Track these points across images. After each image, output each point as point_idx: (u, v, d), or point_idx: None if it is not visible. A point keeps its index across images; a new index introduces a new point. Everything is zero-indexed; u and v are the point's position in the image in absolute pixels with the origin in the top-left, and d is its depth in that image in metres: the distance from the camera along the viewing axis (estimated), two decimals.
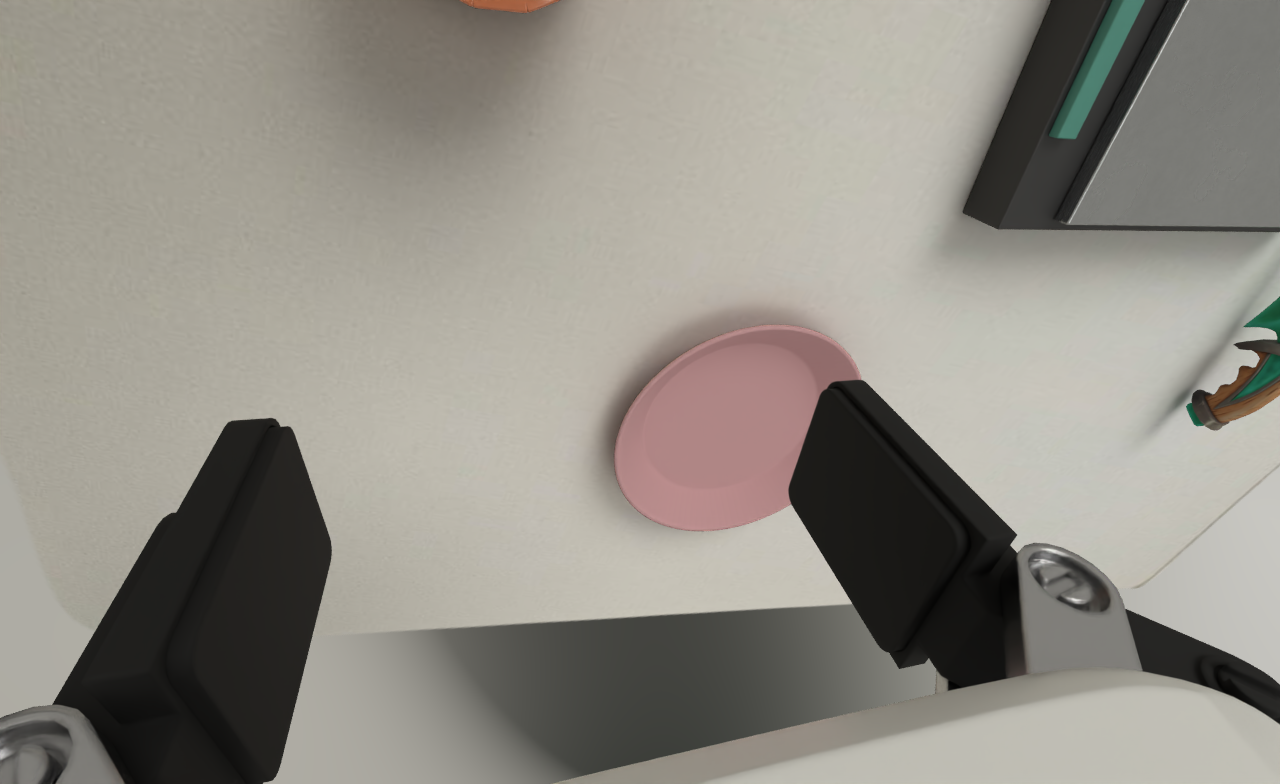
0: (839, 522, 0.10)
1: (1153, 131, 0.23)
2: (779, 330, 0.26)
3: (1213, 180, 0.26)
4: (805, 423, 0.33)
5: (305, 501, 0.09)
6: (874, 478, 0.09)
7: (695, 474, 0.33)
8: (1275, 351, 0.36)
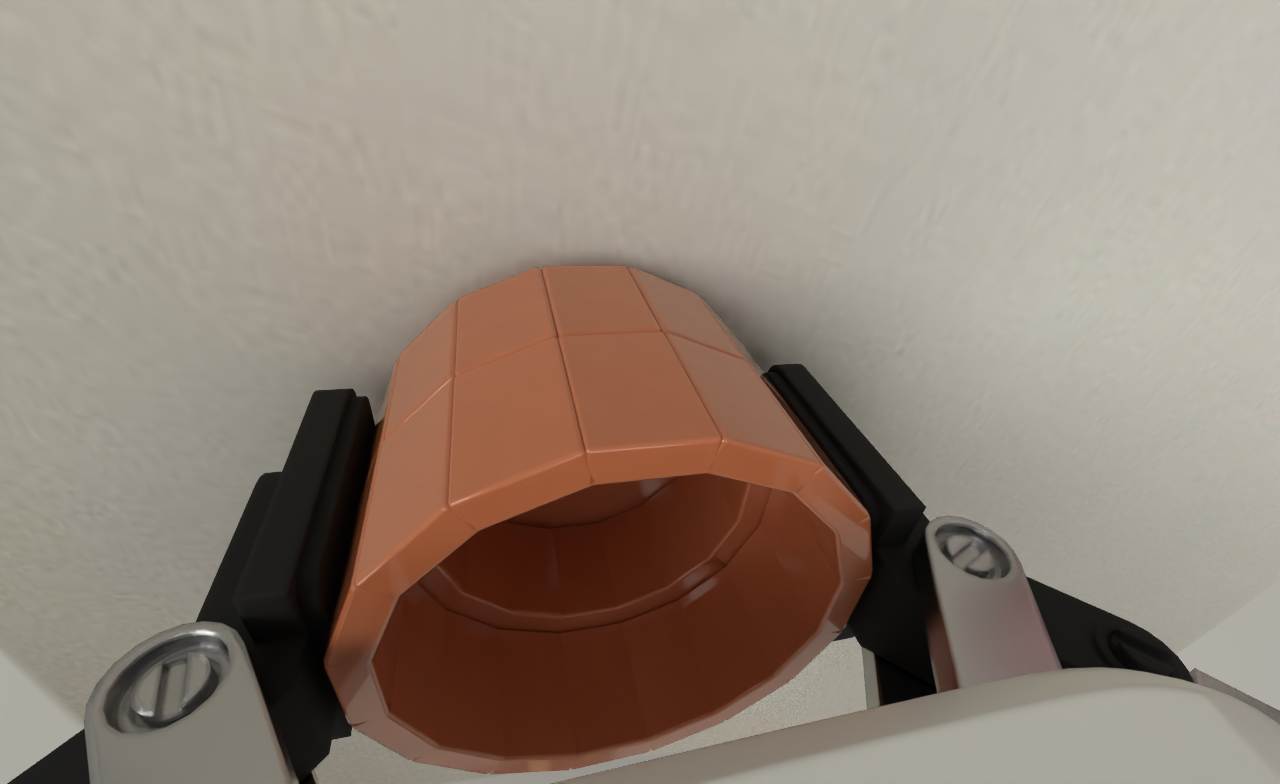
0: None
1: None
2: None
3: None
4: None
5: None
6: None
7: None
8: None
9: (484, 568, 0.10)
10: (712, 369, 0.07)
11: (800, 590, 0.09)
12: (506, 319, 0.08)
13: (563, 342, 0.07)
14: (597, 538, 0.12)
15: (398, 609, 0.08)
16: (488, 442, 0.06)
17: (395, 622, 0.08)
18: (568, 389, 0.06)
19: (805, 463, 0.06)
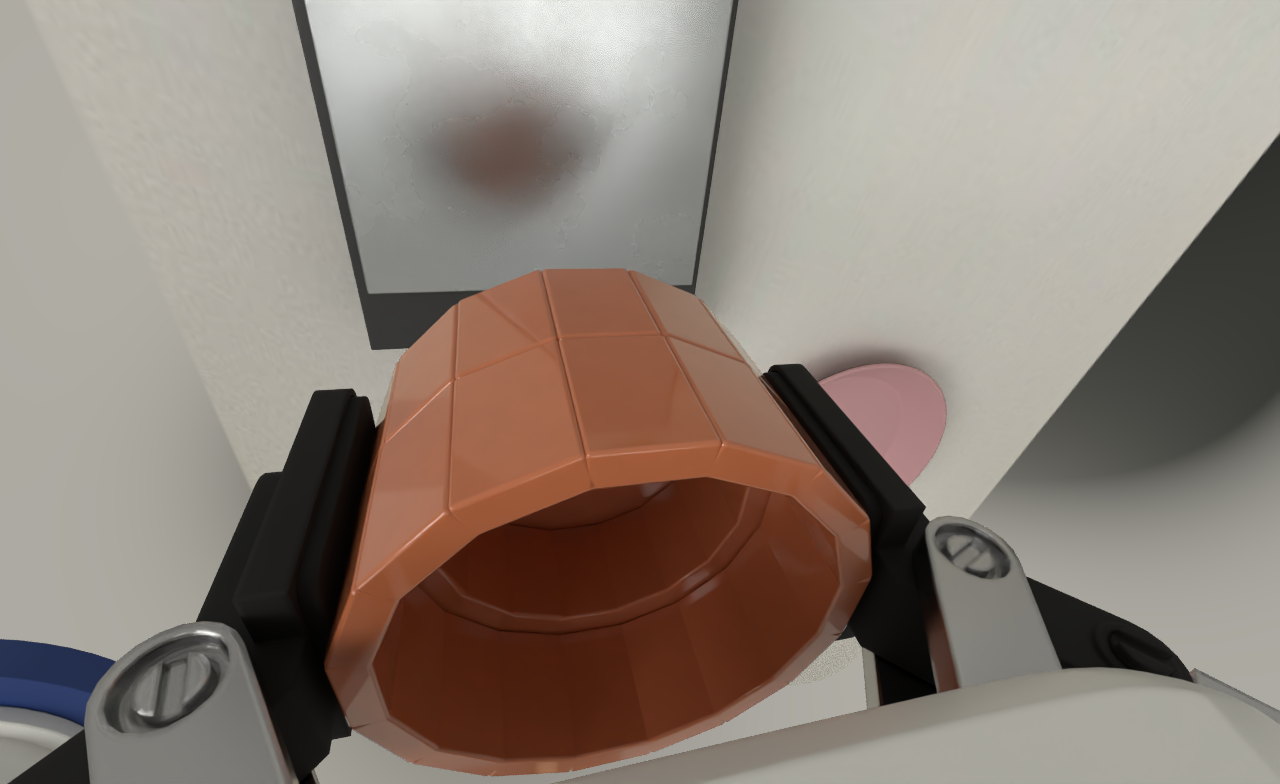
0: None
1: (602, 243, 0.22)
2: None
3: (661, 95, 0.19)
4: (859, 380, 0.34)
5: None
6: None
7: None
8: None
9: (484, 570, 0.10)
10: (712, 373, 0.07)
11: (800, 592, 0.09)
12: (505, 322, 0.08)
13: (563, 346, 0.07)
14: (598, 540, 0.12)
15: (398, 612, 0.08)
16: (488, 445, 0.06)
17: (395, 625, 0.08)
18: (568, 393, 0.06)
19: (805, 467, 0.06)
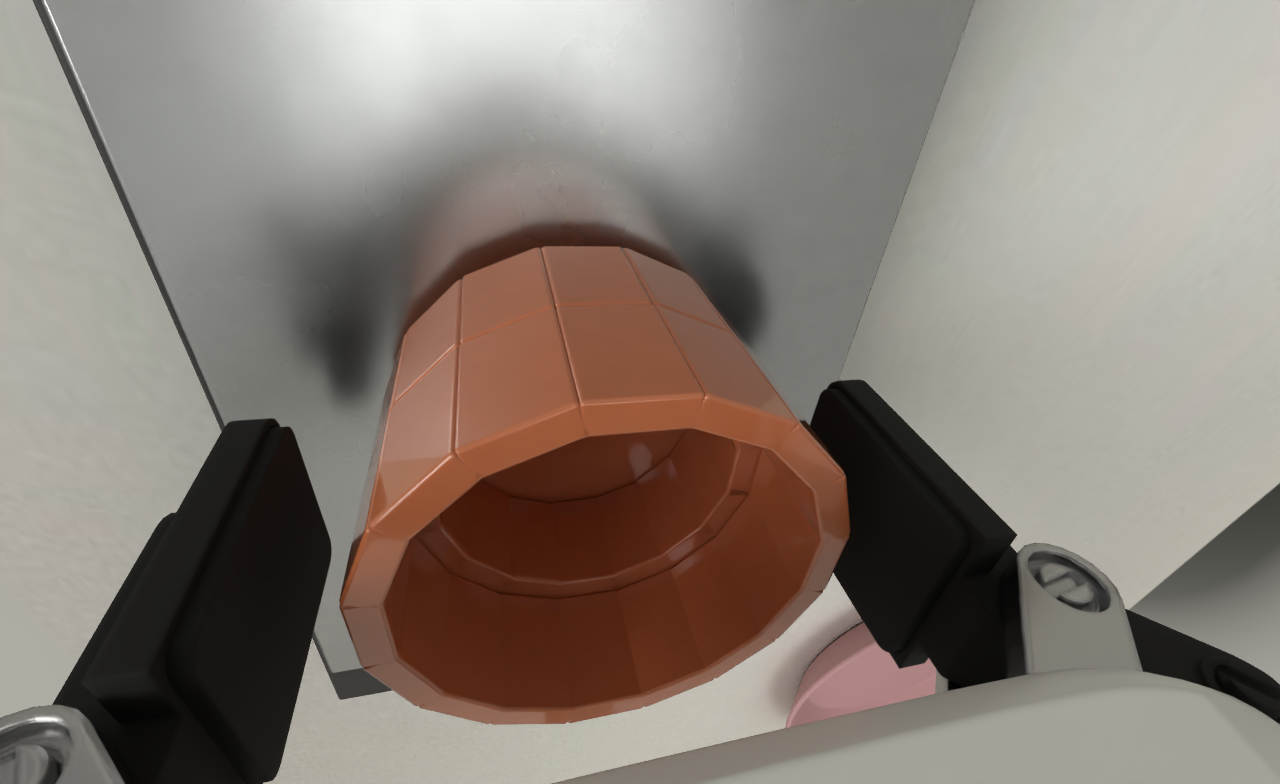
0: None
1: None
2: (797, 710, 0.28)
3: None
4: None
5: (305, 501, 0.09)
6: (874, 478, 0.09)
7: None
8: None
9: (486, 536, 0.11)
10: (699, 338, 0.07)
11: (784, 553, 0.09)
12: (507, 293, 0.08)
13: (560, 312, 0.07)
14: (595, 512, 0.12)
15: (406, 566, 0.08)
16: (491, 399, 0.06)
17: (403, 577, 0.08)
18: (565, 352, 0.06)
19: (783, 421, 0.07)
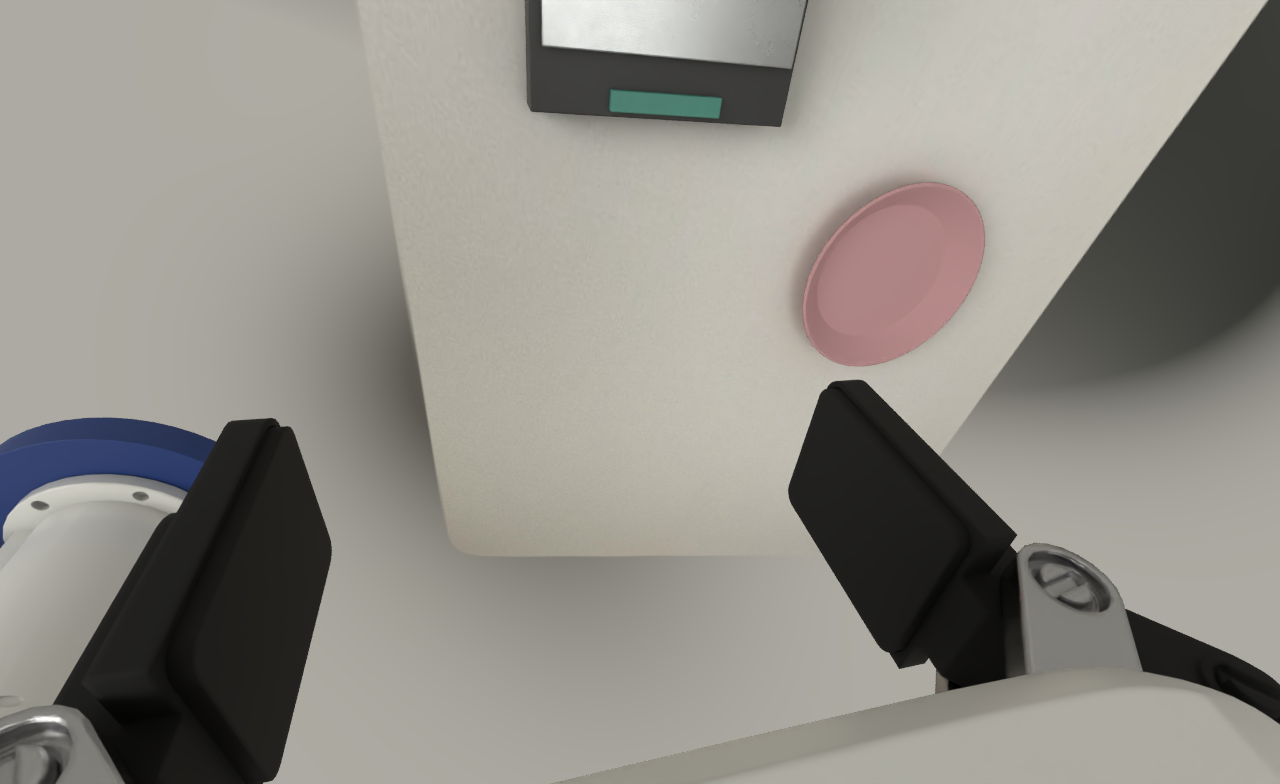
0: (839, 522, 0.10)
1: (727, 17, 0.27)
2: (812, 279, 0.39)
3: None
4: (910, 209, 0.39)
5: (305, 501, 0.09)
6: (874, 478, 0.09)
7: (915, 292, 0.44)
8: None
9: None
10: None
11: None
12: None
13: None
14: None
15: None
16: None
17: None
18: None
19: None
